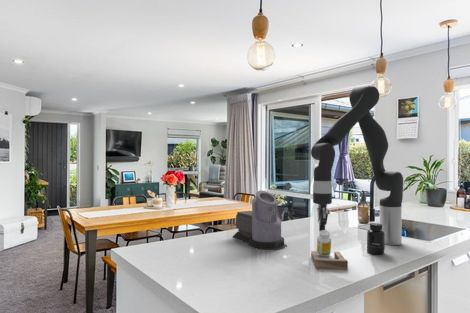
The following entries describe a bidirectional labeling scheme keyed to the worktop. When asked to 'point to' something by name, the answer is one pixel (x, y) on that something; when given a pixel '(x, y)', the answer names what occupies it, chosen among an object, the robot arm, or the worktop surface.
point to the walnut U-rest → (329, 261)
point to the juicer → (261, 224)
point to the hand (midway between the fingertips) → (322, 233)
